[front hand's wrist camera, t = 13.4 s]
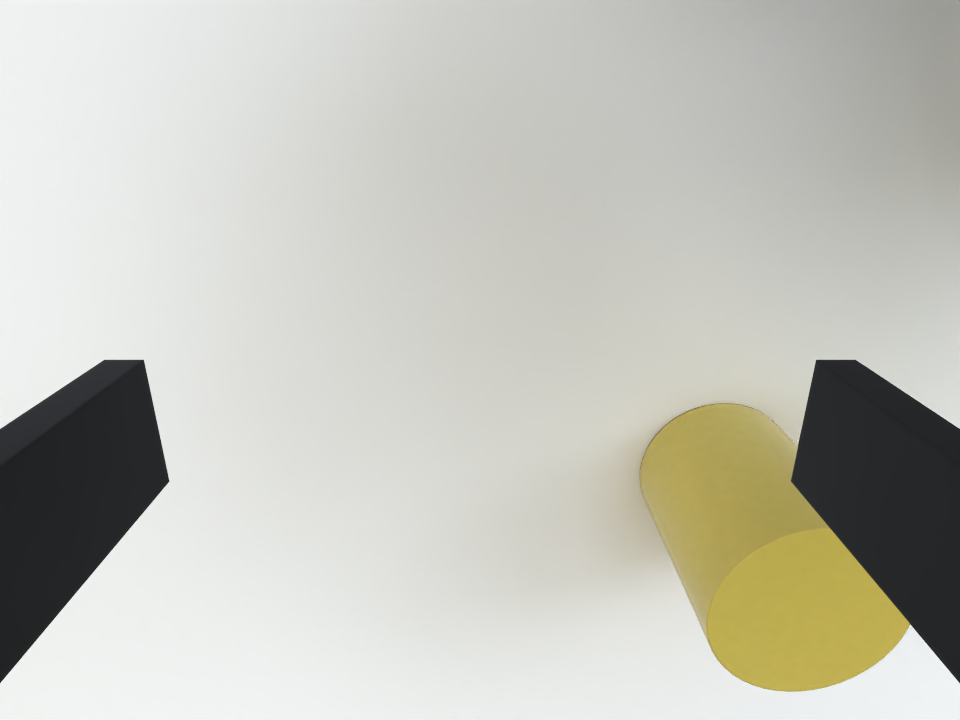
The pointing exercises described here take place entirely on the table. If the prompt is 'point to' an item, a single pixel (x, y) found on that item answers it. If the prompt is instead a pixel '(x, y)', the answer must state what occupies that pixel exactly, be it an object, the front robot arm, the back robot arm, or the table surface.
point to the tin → (761, 555)
